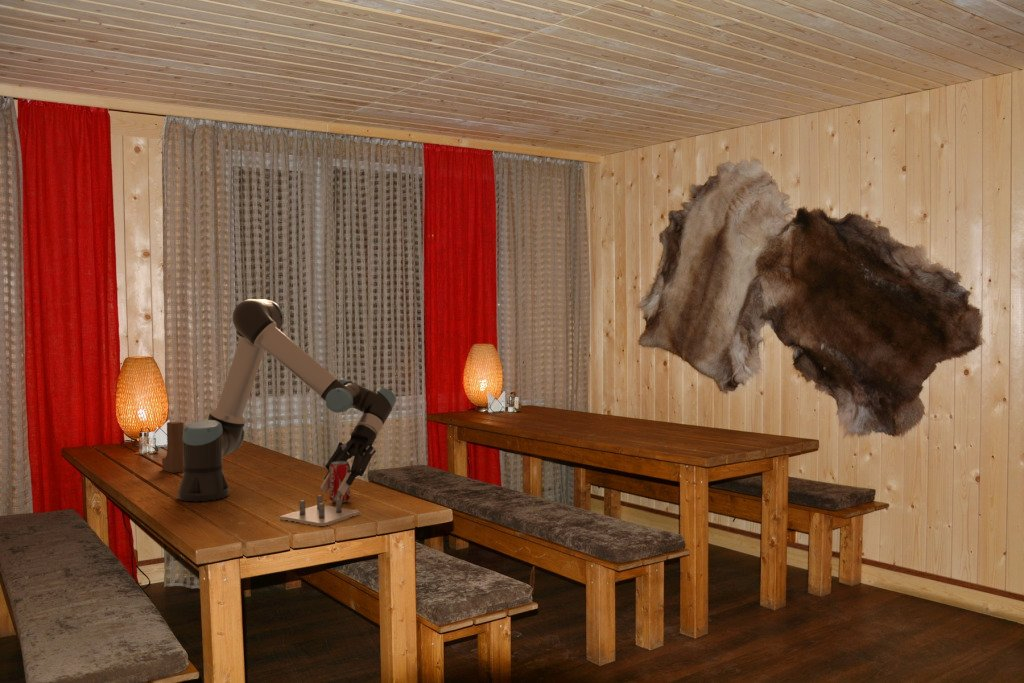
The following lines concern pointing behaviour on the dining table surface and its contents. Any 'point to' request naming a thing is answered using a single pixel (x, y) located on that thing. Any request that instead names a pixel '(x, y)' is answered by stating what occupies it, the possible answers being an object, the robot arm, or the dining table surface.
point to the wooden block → (174, 448)
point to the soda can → (338, 480)
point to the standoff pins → (321, 506)
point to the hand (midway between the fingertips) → (332, 491)
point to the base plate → (313, 516)
